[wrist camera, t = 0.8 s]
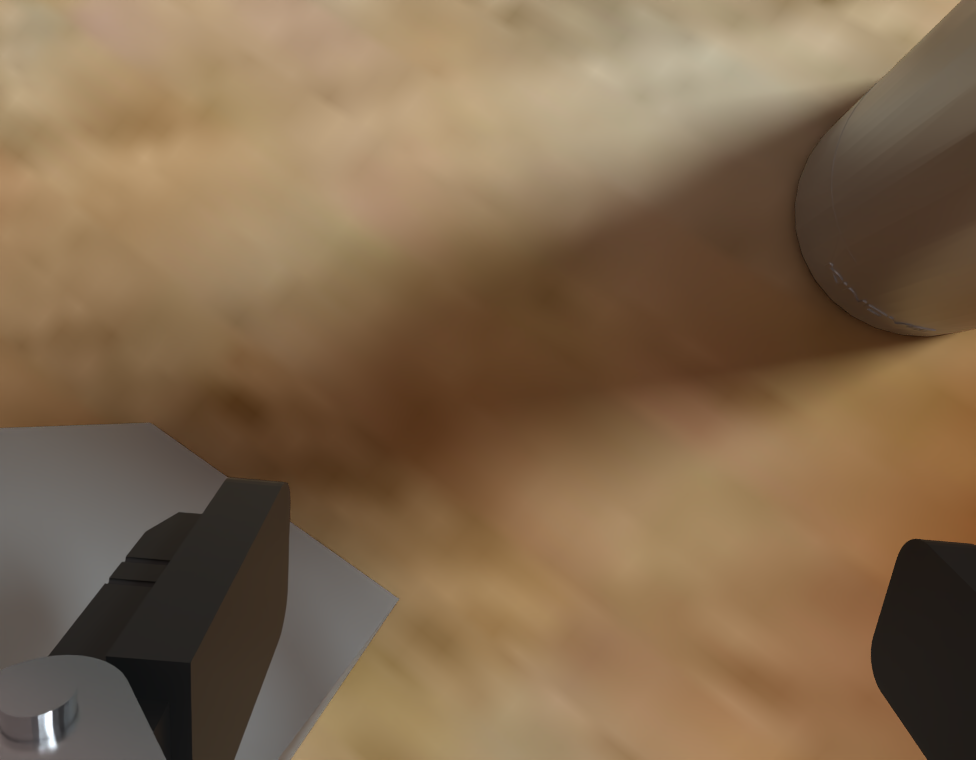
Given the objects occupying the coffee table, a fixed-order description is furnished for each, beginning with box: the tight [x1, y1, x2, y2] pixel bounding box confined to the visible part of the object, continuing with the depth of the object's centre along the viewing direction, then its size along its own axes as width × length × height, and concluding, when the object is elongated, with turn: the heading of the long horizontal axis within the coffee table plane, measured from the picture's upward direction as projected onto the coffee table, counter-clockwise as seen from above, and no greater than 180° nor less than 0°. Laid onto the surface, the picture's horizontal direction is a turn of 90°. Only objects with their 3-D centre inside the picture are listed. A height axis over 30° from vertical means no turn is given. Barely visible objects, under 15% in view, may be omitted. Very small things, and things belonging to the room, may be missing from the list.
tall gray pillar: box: [0, 423, 399, 760], centre depth 21 cm, size 8×12×21 cm, turn 56°
